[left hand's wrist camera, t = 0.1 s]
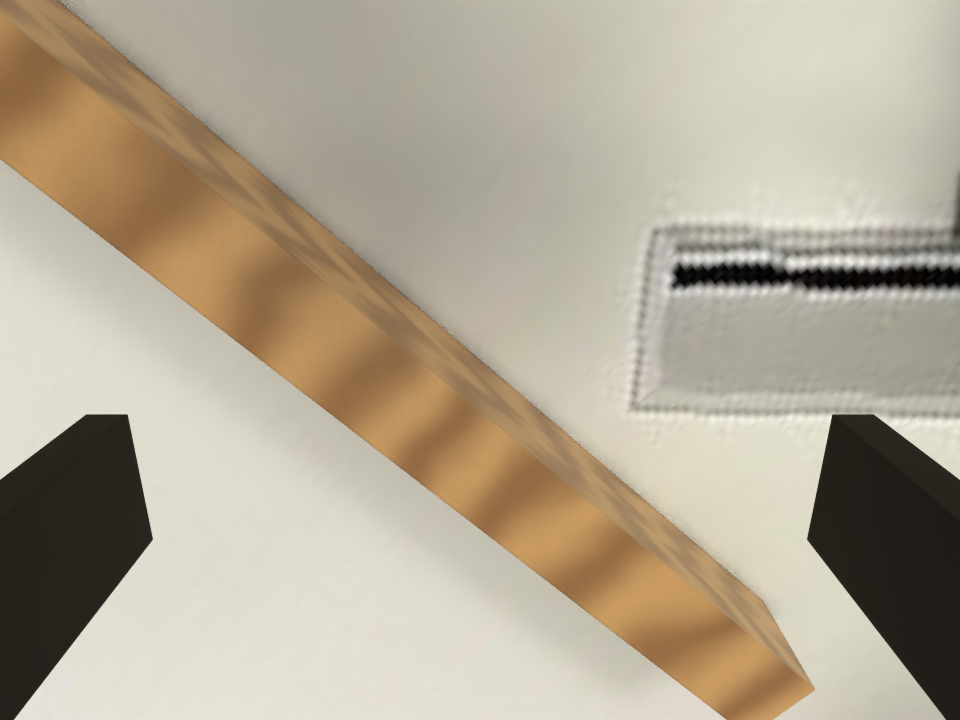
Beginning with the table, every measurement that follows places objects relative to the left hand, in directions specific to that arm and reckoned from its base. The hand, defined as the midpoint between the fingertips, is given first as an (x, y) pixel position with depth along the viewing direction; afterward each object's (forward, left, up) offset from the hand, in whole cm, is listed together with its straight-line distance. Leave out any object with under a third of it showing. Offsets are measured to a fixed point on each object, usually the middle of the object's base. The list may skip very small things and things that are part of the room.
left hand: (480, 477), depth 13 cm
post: (+6, -6, -28) cm, 29 cm away
